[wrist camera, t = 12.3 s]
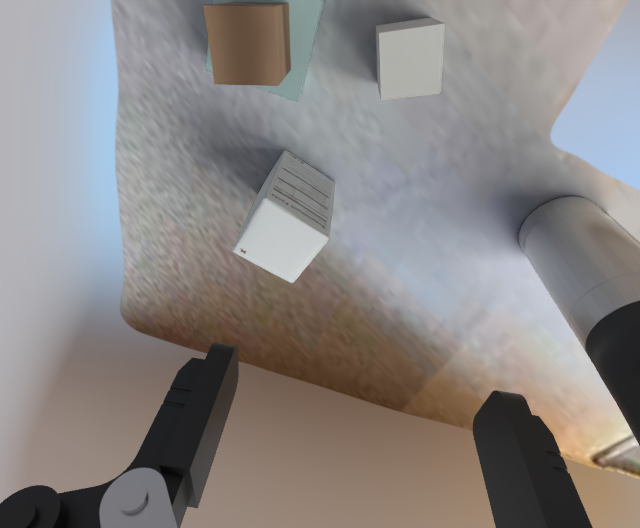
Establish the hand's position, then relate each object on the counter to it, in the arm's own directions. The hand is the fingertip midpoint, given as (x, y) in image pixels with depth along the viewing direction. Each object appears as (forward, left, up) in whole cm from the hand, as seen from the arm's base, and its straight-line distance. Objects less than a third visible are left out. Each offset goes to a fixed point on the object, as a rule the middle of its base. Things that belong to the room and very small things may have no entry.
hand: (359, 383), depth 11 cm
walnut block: (+10, -5, -30) cm, 32 cm away
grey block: (-3, -5, -34) cm, 35 cm away
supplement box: (+6, +11, -34) cm, 36 cm away
